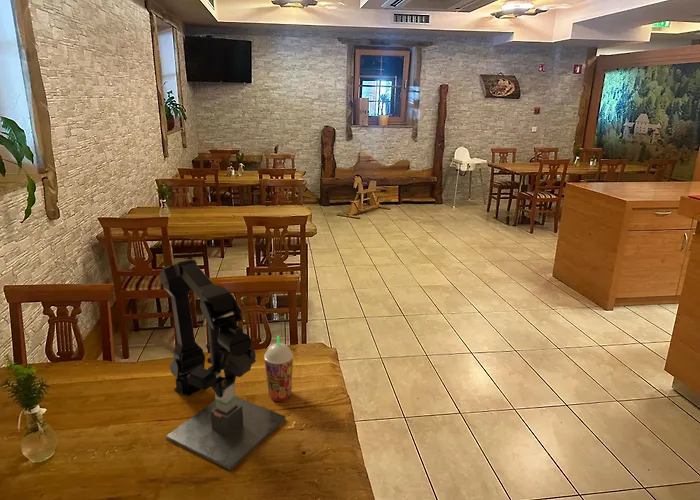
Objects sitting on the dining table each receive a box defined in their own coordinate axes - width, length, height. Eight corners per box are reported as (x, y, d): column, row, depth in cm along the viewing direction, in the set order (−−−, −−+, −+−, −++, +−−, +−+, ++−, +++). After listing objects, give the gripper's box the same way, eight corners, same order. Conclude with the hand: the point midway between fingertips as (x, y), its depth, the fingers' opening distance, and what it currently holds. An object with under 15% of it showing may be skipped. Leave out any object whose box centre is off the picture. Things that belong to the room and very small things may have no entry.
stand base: (226, 395, 143) (224, 376, 141) (285, 419, 133) (285, 399, 131) (166, 439, 125) (163, 418, 123) (230, 470, 114) (228, 448, 112)
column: (226, 406, 129) (224, 376, 127) (236, 410, 128) (234, 380, 125) (216, 413, 126) (213, 383, 123) (227, 418, 125) (224, 387, 122)
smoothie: (260, 400, 141) (257, 339, 135) (275, 385, 148) (272, 327, 142) (285, 407, 138) (283, 345, 132) (299, 391, 145) (297, 332, 139)
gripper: (218, 366, 109) (222, 423, 114) (269, 332, 124) (271, 384, 129) (183, 353, 114) (189, 408, 119) (237, 322, 130) (240, 372, 134)
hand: (225, 393), depth 125 cm, fingers closed on column, 4 cm apart
